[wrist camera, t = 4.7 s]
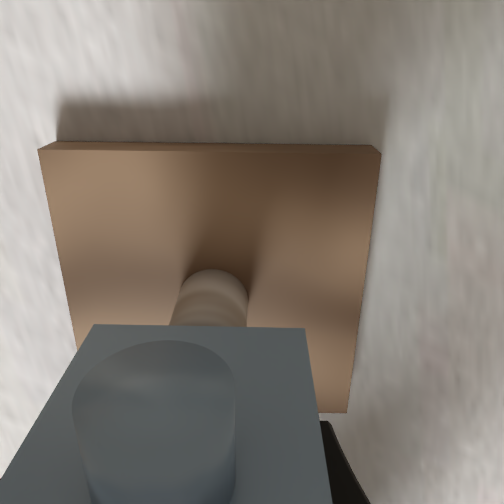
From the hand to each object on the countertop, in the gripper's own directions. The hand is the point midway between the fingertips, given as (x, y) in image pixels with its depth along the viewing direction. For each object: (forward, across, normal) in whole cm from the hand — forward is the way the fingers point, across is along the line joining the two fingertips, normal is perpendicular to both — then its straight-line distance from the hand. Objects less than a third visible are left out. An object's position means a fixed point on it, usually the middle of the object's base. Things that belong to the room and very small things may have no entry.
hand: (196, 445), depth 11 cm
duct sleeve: (+1, 0, 0) cm, 1 cm away
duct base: (+8, 0, 0) cm, 9 cm away
